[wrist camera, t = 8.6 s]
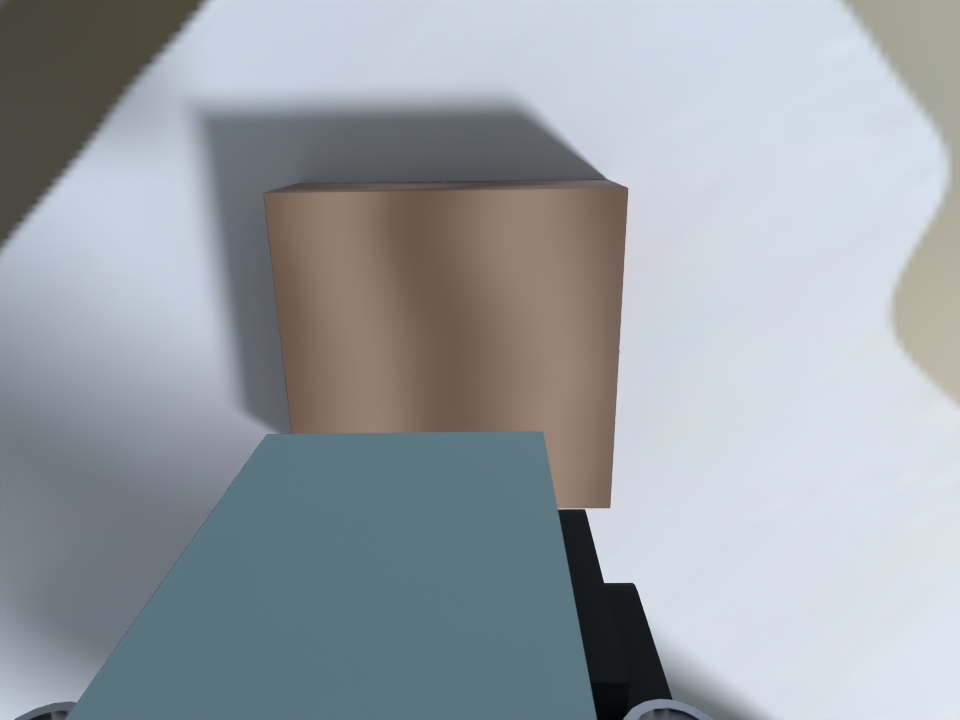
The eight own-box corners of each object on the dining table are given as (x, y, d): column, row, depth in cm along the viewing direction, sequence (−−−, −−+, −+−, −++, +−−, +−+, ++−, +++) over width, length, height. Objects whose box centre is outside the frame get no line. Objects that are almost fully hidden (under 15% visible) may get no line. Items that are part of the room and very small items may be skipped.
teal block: (542, 431, 12) (613, 808, 5) (538, 651, 14) (588, 1145, 7) (266, 434, 12) (2, 808, 5) (296, 653, 14) (121, 1143, 7)
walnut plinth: (607, 179, 26) (628, 187, 22) (594, 459, 29) (610, 508, 26) (296, 184, 26) (263, 193, 22) (324, 461, 30) (300, 509, 26)
